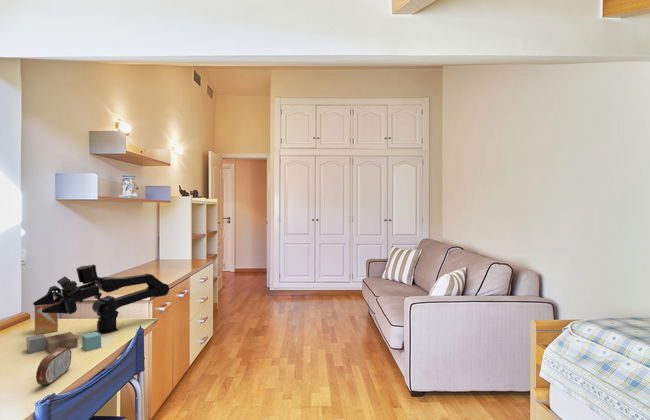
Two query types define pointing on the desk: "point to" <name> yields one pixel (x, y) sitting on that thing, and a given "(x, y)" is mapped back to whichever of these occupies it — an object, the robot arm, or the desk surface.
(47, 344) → the walnut block
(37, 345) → the grey cube
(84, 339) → the teal cube
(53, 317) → the small box
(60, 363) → the tin
